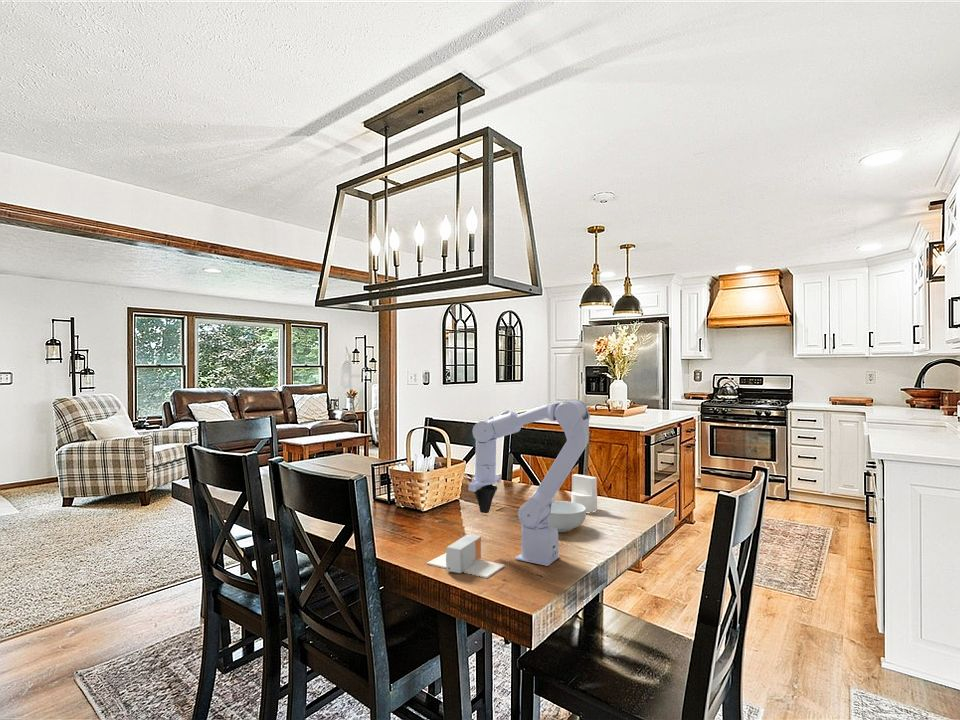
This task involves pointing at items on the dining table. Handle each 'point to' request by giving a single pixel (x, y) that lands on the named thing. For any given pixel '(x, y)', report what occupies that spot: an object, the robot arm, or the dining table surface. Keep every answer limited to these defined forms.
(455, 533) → the dining table surface
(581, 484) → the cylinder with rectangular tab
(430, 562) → the white rectangular slab
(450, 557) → the skincare box
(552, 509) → the cereal bowl
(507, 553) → the dining table surface
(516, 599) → the dining table surface
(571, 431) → the robot arm
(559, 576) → the dining table surface
